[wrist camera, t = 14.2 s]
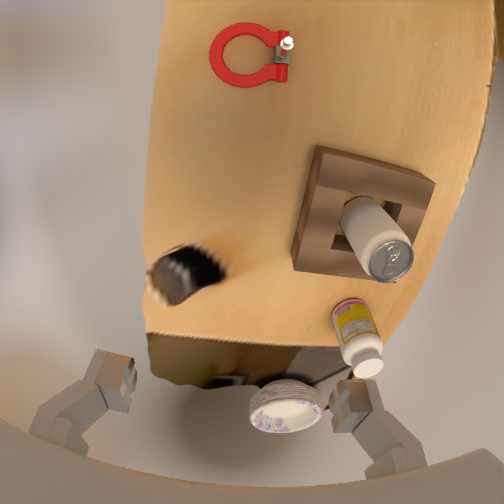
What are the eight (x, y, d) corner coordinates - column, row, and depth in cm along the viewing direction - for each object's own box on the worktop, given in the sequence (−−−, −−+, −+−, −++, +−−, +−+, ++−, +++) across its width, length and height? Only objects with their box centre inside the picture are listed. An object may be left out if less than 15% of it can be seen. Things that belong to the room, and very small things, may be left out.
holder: (316, 145, 36) (324, 152, 32) (420, 172, 37) (435, 183, 33) (290, 253, 44) (294, 270, 40) (385, 266, 45) (395, 283, 42)
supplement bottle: (360, 325, 52) (379, 381, 41) (326, 324, 52) (340, 383, 41) (372, 297, 49) (396, 353, 38) (337, 295, 48) (356, 355, 37)
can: (383, 195, 39) (422, 235, 29) (378, 235, 43) (410, 284, 32) (340, 195, 40) (369, 238, 29) (337, 237, 43) (361, 288, 33)
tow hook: (210, 87, 33) (286, 89, 33) (181, 87, 22) (296, 89, 21) (212, 25, 29) (289, 26, 28) (185, -3, 17) (300, -4, 17)
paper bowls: (330, 377, 61) (336, 407, 54) (296, 409, 68) (299, 436, 61) (267, 363, 58) (269, 396, 51) (239, 398, 65) (238, 427, 58)
